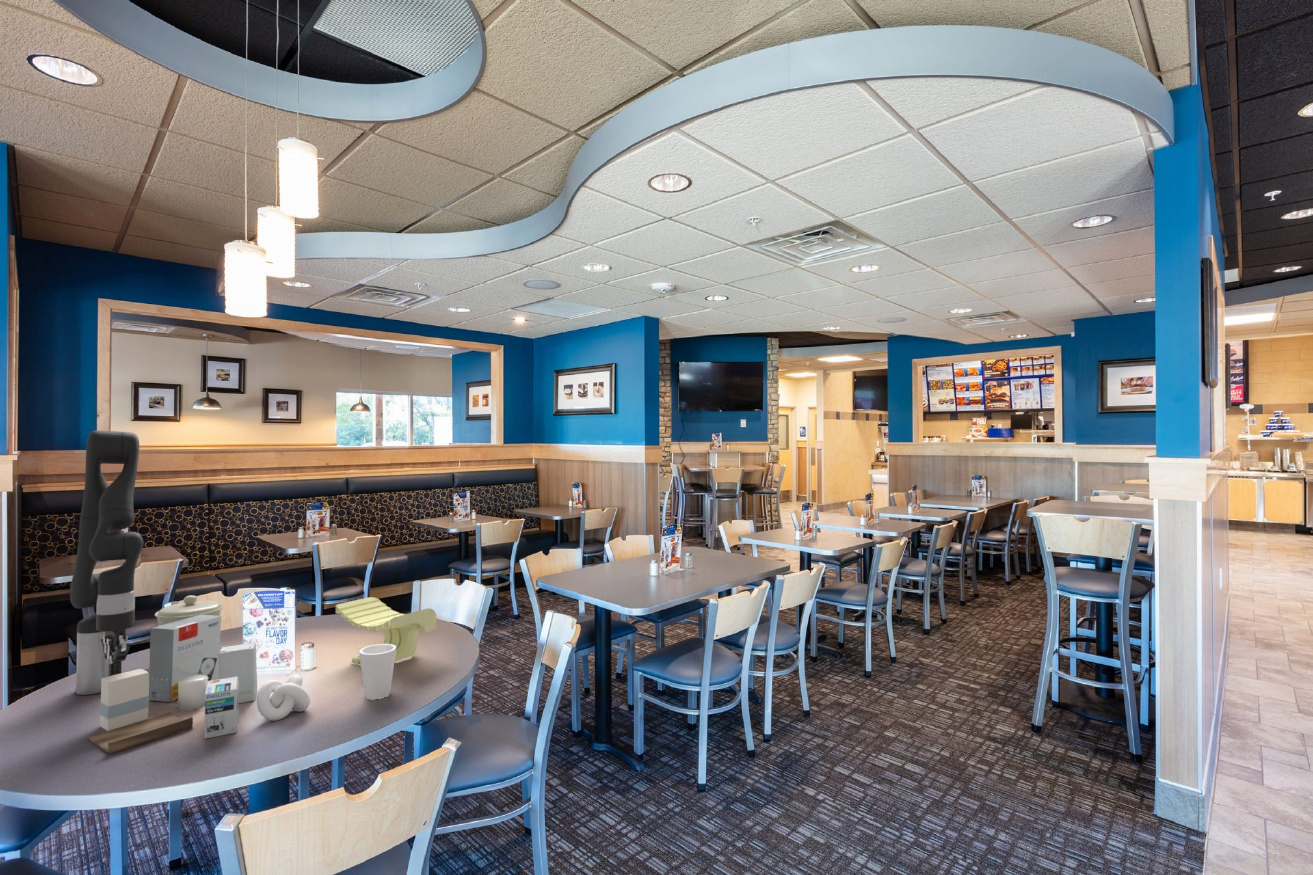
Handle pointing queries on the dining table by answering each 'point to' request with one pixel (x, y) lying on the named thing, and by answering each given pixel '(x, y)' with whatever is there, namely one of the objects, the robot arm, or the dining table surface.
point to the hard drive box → (183, 654)
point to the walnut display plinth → (140, 732)
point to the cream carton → (124, 699)
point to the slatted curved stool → (388, 623)
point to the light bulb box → (221, 707)
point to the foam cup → (377, 669)
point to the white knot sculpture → (282, 698)
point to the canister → (187, 610)
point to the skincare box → (240, 668)
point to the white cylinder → (192, 692)
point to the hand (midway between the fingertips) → (114, 676)
